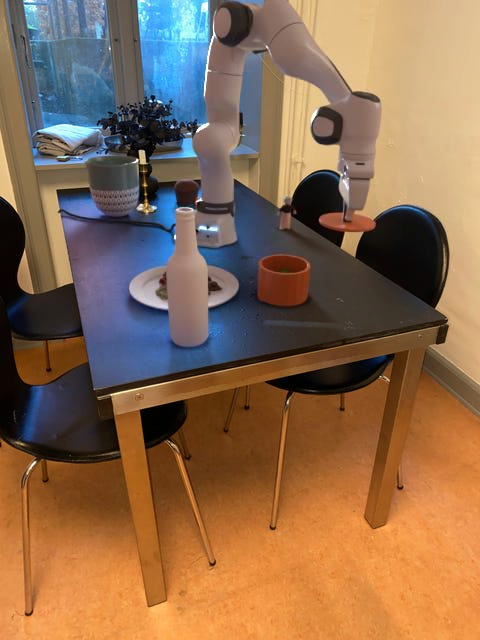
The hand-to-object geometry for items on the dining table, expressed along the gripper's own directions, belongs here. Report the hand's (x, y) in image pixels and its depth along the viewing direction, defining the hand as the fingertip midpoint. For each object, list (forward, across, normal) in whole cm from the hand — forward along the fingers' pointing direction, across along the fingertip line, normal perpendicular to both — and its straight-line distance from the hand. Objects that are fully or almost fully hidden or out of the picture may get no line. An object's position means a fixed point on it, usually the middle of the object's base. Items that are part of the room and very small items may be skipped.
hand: (347, 217), depth 124 cm
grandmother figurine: (+21, -51, -13) cm, 57 cm away
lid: (+2, 0, 0) cm, 2 cm away
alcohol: (+21, +32, -38) cm, 54 cm away
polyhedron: (+18, +7, -16) cm, 25 cm away
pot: (+20, +8, -16) cm, 27 cm away
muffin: (+21, -82, -56) cm, 102 cm away
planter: (+21, -60, -81) cm, 103 cm away
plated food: (+21, +7, -43) cm, 48 cm away
